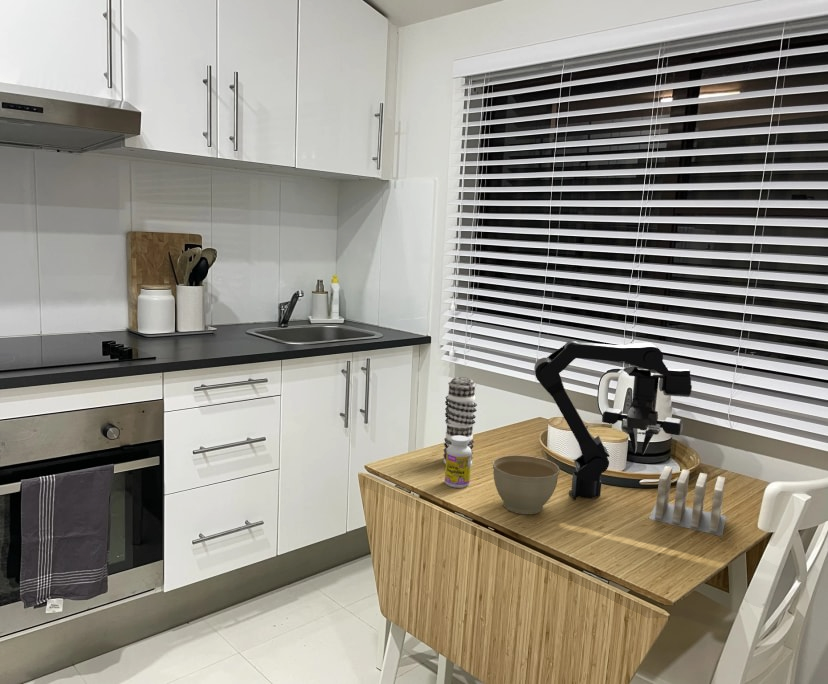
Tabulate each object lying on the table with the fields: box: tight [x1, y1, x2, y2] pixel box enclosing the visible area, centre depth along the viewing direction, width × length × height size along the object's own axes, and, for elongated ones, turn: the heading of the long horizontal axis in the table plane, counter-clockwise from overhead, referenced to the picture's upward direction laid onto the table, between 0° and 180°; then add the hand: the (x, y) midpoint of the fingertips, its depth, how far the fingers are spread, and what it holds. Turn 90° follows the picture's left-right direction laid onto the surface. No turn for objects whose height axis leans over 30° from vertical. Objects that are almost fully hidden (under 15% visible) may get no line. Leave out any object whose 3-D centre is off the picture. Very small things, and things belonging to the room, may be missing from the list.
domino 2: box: [673, 469, 691, 523], centre depth 158 cm, size 2×10×10 cm, turn 151°
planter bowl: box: [492, 454, 560, 515], centre depth 161 cm, size 16×16×11 cm
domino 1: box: [655, 465, 673, 519], centre depth 160 cm, size 2×10×10 cm, turn 151°
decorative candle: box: [442, 376, 478, 465], centre depth 190 cm, size 9×9×25 cm
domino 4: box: [709, 475, 726, 532], centre depth 154 cm, size 2×10×10 cm, turn 151°
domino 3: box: [691, 472, 708, 528], centre depth 156 cm, size 2×10×10 cm, turn 151°
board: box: [648, 502, 727, 537], centre depth 158 cm, size 16×13×1 cm
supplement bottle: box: [444, 435, 473, 489], centre depth 175 cm, size 7×7×13 cm
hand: (638, 453), depth 166 cm, fingers closed
